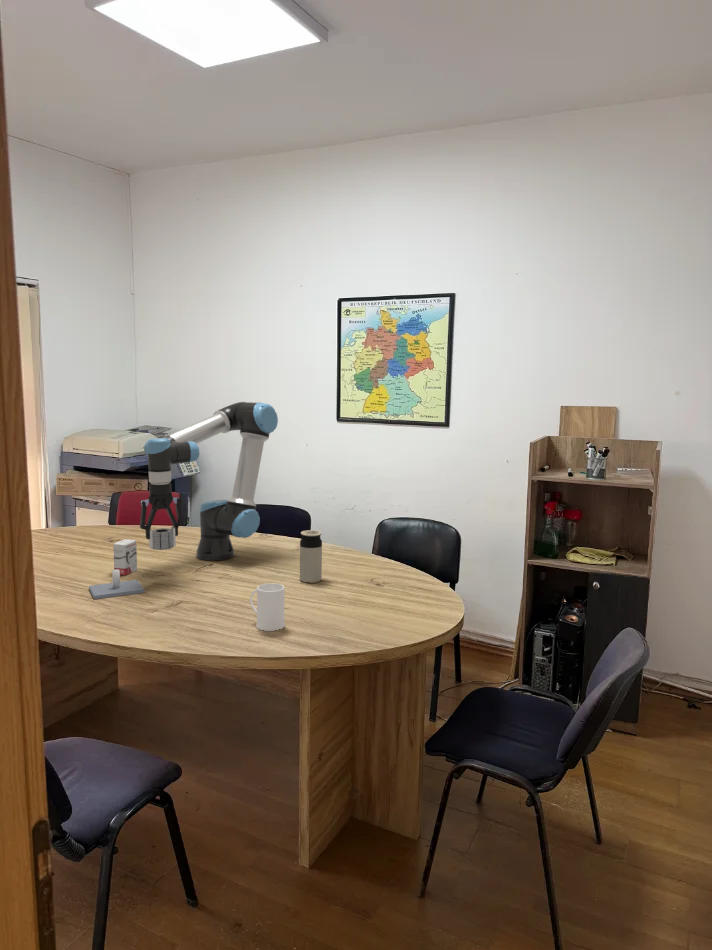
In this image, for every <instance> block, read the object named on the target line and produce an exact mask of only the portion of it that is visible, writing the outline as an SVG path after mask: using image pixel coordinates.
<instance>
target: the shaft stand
mask: <svg viewBox="0 0 712 950" xmlns="http://www.w3.org/2000/svg"><path fill="white" fill-rule="evenodd" d="M111 573H112V575H111V576H112V577H111V579H112V582H109V583H100V584H91V585H88V590H89V591H90V594H91V596H92V597H93V599H94V600H101V599H108V598H115V597H116V598H117V597H123V596H129V595H137V594H143V593H145V587H143V585H142V584H141V583H140V582H139V580H138V579H132V580H122V581H121V575H120V570H114V569H113V570H111Z"/></svg>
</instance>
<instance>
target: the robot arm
mask: <svg viewBox="0 0 712 950" xmlns="http://www.w3.org/2000/svg"><path fill="white" fill-rule="evenodd" d="M278 417H279V416H278V414H277V412H276V410H275V408H274V407H273V406H272V405H271V404H269V403H264V402H247V401H240V402H235V403H232V404H229V405H227V406H224V407H223V408H220V409H217V410H215V411H214V412H213V414H212V415H211V416H208V417H206V418H203V419H201V420H200V421H198V422H195V423H192V424H190V425H188V426H186V427H183V428H181V429H179V430H177V431H174V432H172V433H169V434H167V435H165V436H163V437H161V438H159V437H157V438H156V437H155V438H150V439H148V440H147V441H146V442H145V444H144V446H143V448H144V449H143V451H144V454H145V456H146V457H147V464H148V465H147V466H148V482H149V484H148V488H149V489H148V490H149V492H148V493H149V496H148V498H147V499H145V500H143V499H141V500H140V506H141V509H140V511H141V512H140V521H139V528H140V529H141V530H145V539H146V540H148V547H149V549H150V550H154V549H153V534H152V530H153V529H152V528H151V527H152V525H153V522H154V519H155V517H156V514H157V512H158V510H166V512H167V515H168V517H169V519H170V521H171V523H172V524H171V525H173V526H170V529H172V530H173V543H174V547H175V546H176V544H177V543H176V542H177V541H176V537H178V536H179V527H180V526H183V525H184V521H183V515H182V514H183V513H182V509H181V507H182V506H181V501H182V498H180V497H179V496H178V497H177V496H176V497H175V496H173V494H172V493H173V492H172V489H173V488H172V483H171V482H172V465H178V464H185V463H186V464H187V463H188V464H189V463H193V462H196V461H197V460H198V459H199V458H200V447H199V446H198V444H199V443H201V442H204V441H205V440H208V439H210V438H213V437H214V436H216V435H219V434H220V433H222V434H227V433H230V432H231V431H232V432H233V431H239V435H240V436H241V437H242V441H241V446H240V452H239V457H238V462H237V469H236V473H235V479H234V484H233V489H232V495H231V497H230V498H229V499H219V500H218V499H217V500H210V501H204V502H202V503H201V504H200V511H199V522H200V528H199V529H200V538H199V542H198V545H197V548H196V558H197V559H199V560H204V561H225V560H228V559H232V558H233V557H234V556H235V550H234V547H233V544H232V540H231V537H230V536H233V537H236V538H244V539H245V538H247V539H248V538H249V537H251V536H253V534H255V533H256V532H257V530H258V528H259V526H260V521H261V520H260V519H261V518H260V515H259V512H258V511H257V510H256V509H257V505H256V503H255V501H254V499H255V494H256V488H257V483H258V477H259V471H260V467H261V461H262V455H263V449H264V445H265V442H266V441H267V440H269V437H270V434H271V433H274V431H276V429H277V427H278V423H279V421H278V420H279V419H278ZM172 502H173V503H174V507H175V511H176V518H175V515H174V512H173V511H172V508H171V506H170V505H171V504H172ZM149 504H150V505H151V509H150V512H149V515H148V518H147V511H148V509H147V507H148V505H149ZM146 518H147V521H146ZM176 519H177V520H176Z"/></svg>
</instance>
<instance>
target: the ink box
mask: <svg viewBox="0 0 712 950" xmlns="http://www.w3.org/2000/svg"><path fill="white" fill-rule="evenodd" d="M137 555H138V552H137V540H136V539H129V538H124V539H122V540H119V541H117V542H114V543H113V570H120V576H125V577H126V576H128V575H130V574H131V573H134V572H136V571H137V570H138V556H137Z"/></svg>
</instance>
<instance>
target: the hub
mask: <svg viewBox="0 0 712 950" xmlns="http://www.w3.org/2000/svg"><path fill="white" fill-rule="evenodd" d="M151 530H152V534H153V549H152V550H155V551H166V550H170V549H173V548H174V547H175V546H174V543H173V530H172V529H171V528H165V527H164V528H163V527H162V528H154V529H151Z"/></svg>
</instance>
